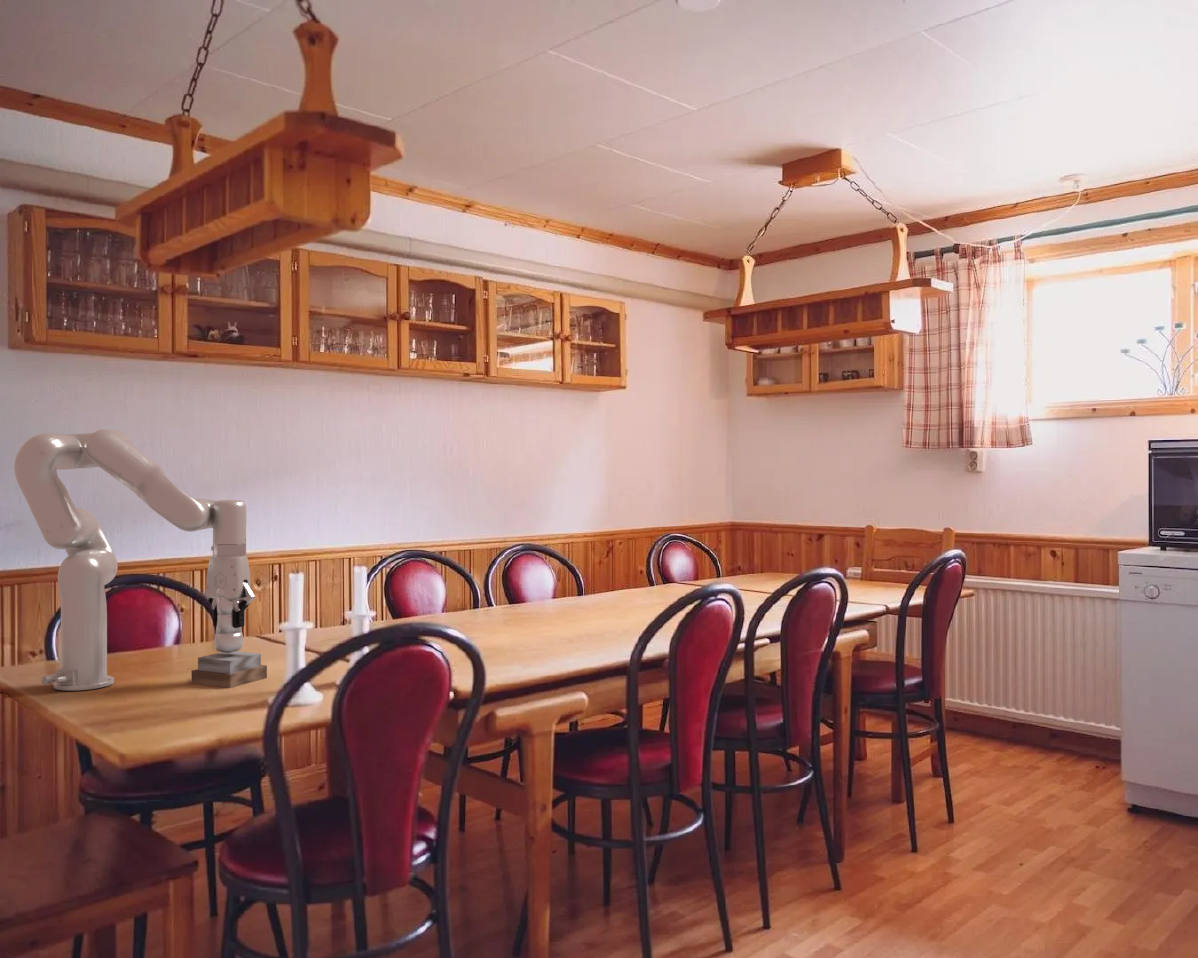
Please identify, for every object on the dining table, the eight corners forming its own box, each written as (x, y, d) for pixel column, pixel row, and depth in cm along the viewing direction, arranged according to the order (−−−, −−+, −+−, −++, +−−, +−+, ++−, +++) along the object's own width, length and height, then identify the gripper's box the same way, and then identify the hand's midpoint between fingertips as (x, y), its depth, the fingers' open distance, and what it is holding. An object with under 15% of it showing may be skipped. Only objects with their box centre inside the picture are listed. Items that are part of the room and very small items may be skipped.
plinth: (230, 687, 224) (230, 662, 224) (191, 683, 228) (191, 658, 228) (266, 677, 235) (266, 653, 235) (229, 673, 240) (229, 649, 239)
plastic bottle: (209, 652, 232) (209, 569, 231) (236, 648, 236) (237, 567, 236) (220, 655, 227) (221, 571, 227) (248, 652, 232) (248, 569, 232)
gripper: (190, 550, 231) (190, 626, 231) (245, 553, 225) (245, 631, 225) (214, 548, 238) (213, 621, 238) (268, 551, 231) (267, 626, 232)
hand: (228, 625), depth 232 cm, fingers closed on plastic bottle, 5 cm apart
